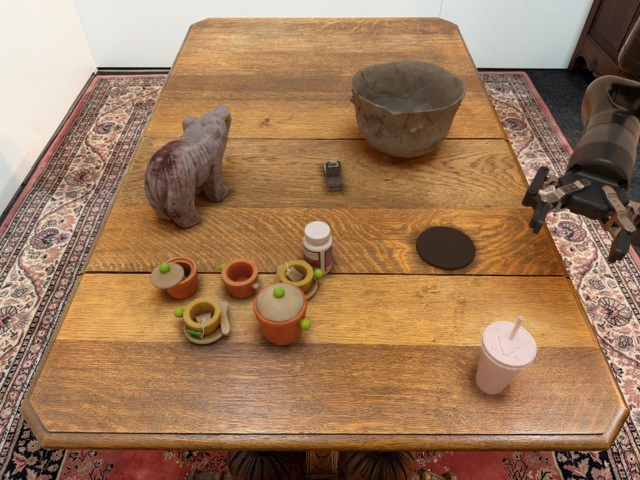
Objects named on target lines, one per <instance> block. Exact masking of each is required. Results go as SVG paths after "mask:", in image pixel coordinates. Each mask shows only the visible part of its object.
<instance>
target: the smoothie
mask: <svg viewBox="0 0 640 480" xmlns="http://www.w3.org/2000/svg"><path fill="white" fill-rule="evenodd" d="M524 320H525V317H524V316H522V315H520V316H518V318H517V320H516V322H515V323H514V322H512V321H506V320H499V321H495V322H492V323H490V324H488V325H487V326H486V327H485V328H484V331H483V332H482V334H481V337H480V347H481V349H480V354H479V359H478V364H477V370H476V375H475V383H476V385H477V387H478V388H479V389H480V390H481V391H482V392H483V393H485V394H487V395H488V394H489V395H499V394H500V393H501V392H502V391H503V390H504V389H505V388H506V387H507V386H508V385H509V384H510V383H511V382H512V381H513V380H514V379H515V378H516V377H517V375H518V374H520V372H521V371H522V370H524V369H526V368H529V367H530V365H532V364H533V362H534V360H535V359H536V358H535V357H536V356H537V353H538V352H537V351H538V348H537V343H536V340H535V339H534V337H533V336H532V335H531V333H530V332H529V331H528V330H527V329H525V328H524V327H522V325H523V324H522V323H523V322H524Z"/></svg>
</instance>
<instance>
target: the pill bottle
mask: <svg viewBox="0 0 640 480" xmlns="http://www.w3.org/2000/svg"><path fill="white" fill-rule="evenodd" d="M302 251H303V260H305V262H307V263H308V264H309V265H310V266H311V267H312V269H313V272H314V271H315V270H317V269H321V270H322V271H323V276H325V275H327V274H328V273H329V272H331V270H332V268H333V237H332V235H331V227H330V226H329V224H327V223H326V222H325V221H320V220H315V221H311V222H309V223H307V224H306V226H305V227H304V236H303V238H302Z"/></svg>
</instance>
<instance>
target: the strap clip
mask: <svg viewBox="0 0 640 480" xmlns="http://www.w3.org/2000/svg"><path fill="white" fill-rule="evenodd" d="M341 169H342V165H341V161H340V160H328V161H326V162H325V163H324V164H323V171H324V175H325V177H326V185H327V189H328V191H329V192H333V191H334V192H335V191H342V190H344V189H343V188H344V185H343V181H342V179H341V178H340V177H341V172H342V171H341Z"/></svg>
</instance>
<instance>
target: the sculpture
mask: <svg viewBox="0 0 640 480" xmlns="http://www.w3.org/2000/svg"><path fill="white" fill-rule="evenodd" d="M231 125H232V115H231V112H230V110H229V108H228V107H227V106H226V105H225V104H224V103H219V104H218V105H217V106H215V108H214V109H212V110H209V111H208V112H206V113H204V114H203V115H201V116H199V117H195V116H193V115H187V116H185V117H183V119H182V121H181V127H182V133H183V134H181V136H179V137H177V138H174V139H173V140H171V141H169V142H167V143H165V144H164V145H161V146H160V147H159V148H158V149H157V150H156V151H155V152H154V153H153V154H152V155H151V157H150V158H149V160H148V163H147V165H146V168H145V172H144V175H143V177H144V178H143V184H144V187H143V188H144V194H145V197H146V199H147V202H148V204H149V205H150V207H151V209H152V210H153V211H154V213H156V214H157V216H159V218H160V219H163V220H167V221H171V220H173V222H175V223H176V225H178V226H179V227H181V228H185V229H186V228H189V227H192V226H194V225H197V224H198V223H199V222H200V220H201V215H200V213H199V211H198V209H197V208H196V204H195V201H196V195H201V194H202V193H203V191H204V194H205V196H206V197H207V198H208V199H209V200H210V201H212V202H220V201H222V200H224V198H226V197H227V196H228V195H229V194H230V191H231V189H230V188H229V187H228V186H226V185H224V181H223V180H224V179H223V160H224V155H225V151H226V149H227V145H228V141H229V133H230V129H231Z"/></svg>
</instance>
